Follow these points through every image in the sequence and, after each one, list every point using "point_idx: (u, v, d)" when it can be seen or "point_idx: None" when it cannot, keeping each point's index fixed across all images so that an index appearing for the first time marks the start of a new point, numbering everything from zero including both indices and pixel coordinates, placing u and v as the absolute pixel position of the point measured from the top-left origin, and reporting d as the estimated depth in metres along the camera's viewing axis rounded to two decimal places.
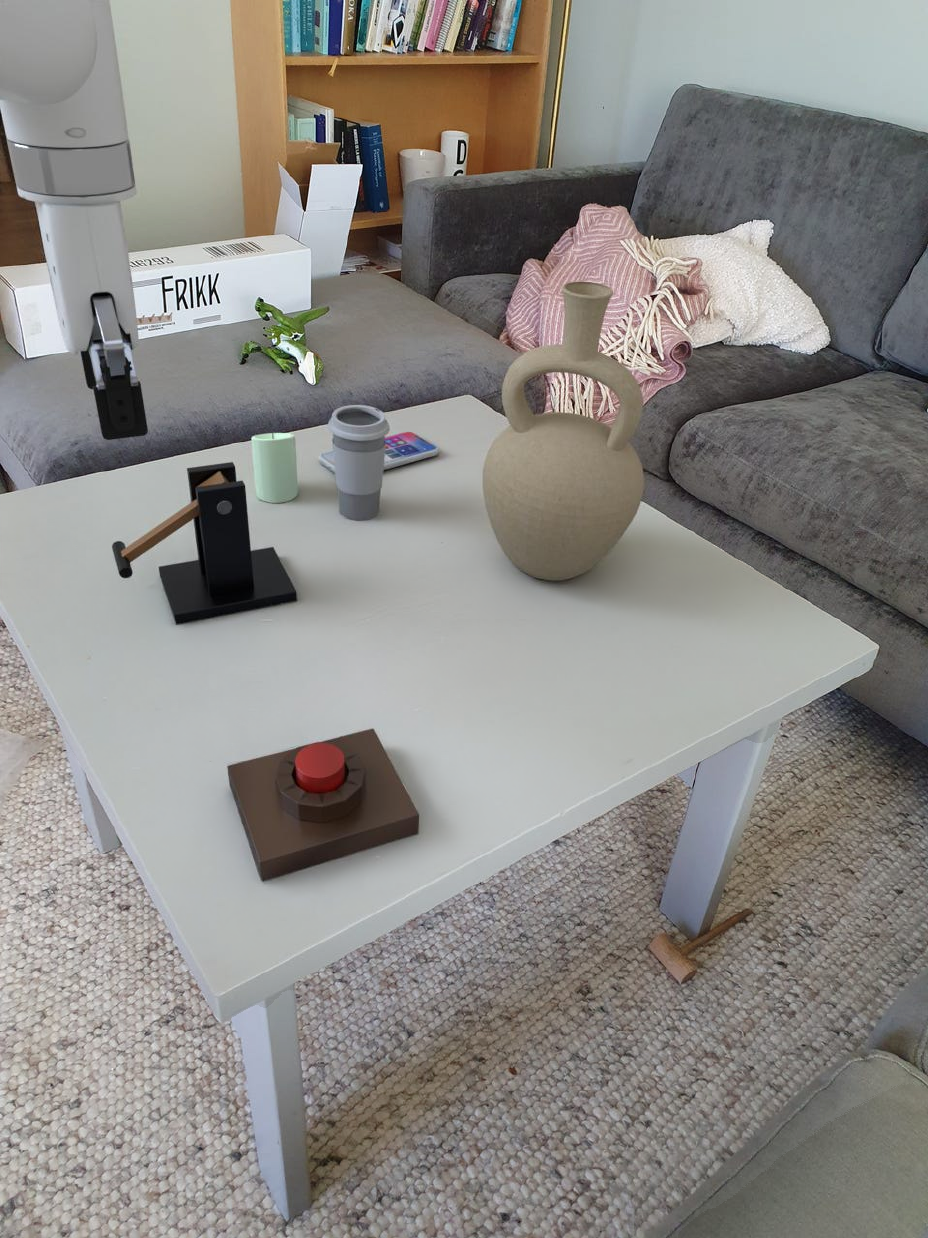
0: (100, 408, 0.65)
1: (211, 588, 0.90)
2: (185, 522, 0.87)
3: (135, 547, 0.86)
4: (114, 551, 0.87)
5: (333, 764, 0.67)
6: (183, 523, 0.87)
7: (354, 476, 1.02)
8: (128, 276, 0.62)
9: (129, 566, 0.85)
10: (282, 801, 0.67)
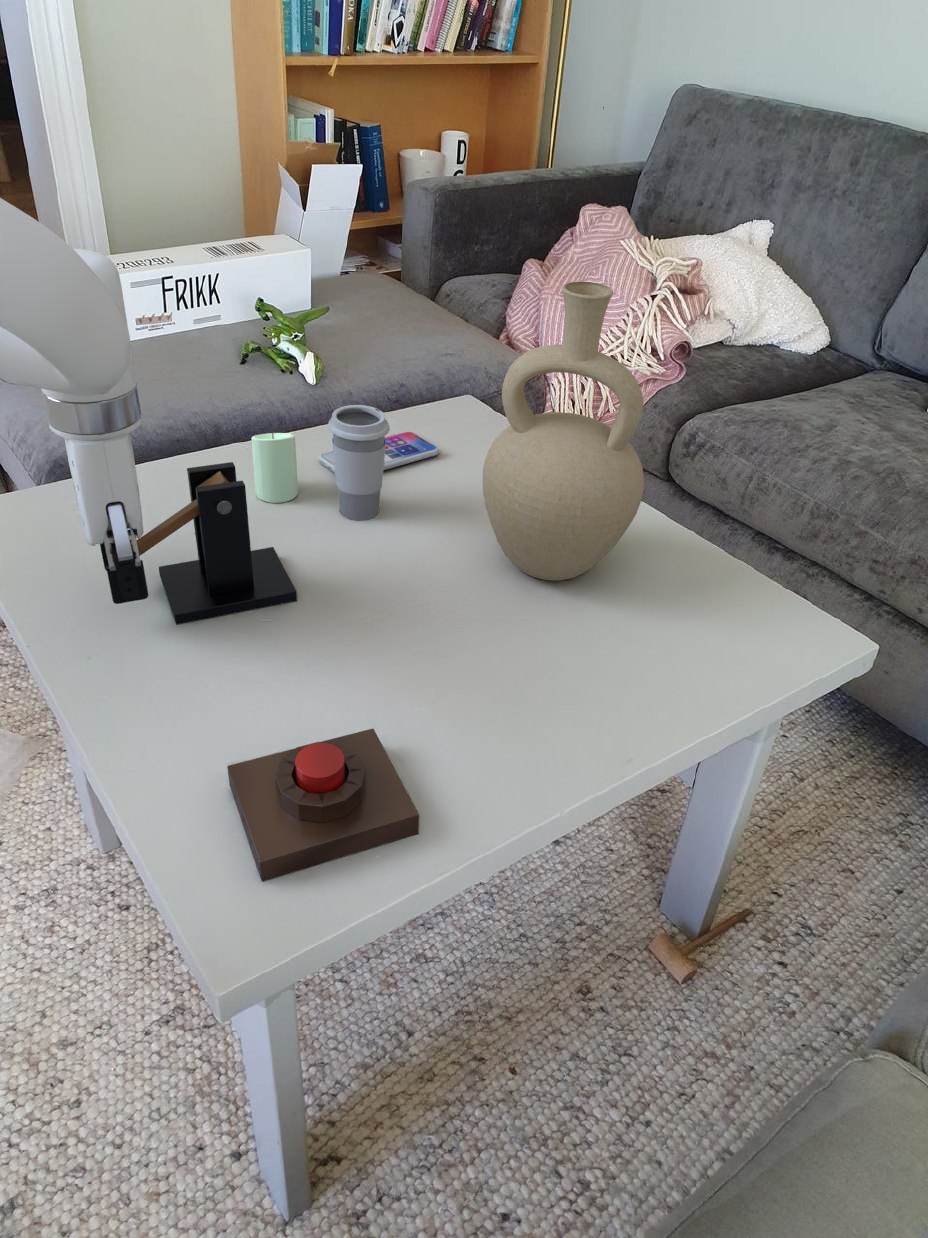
0: (111, 582, 0.84)
1: (211, 588, 0.90)
2: (185, 522, 0.87)
3: None
4: (114, 551, 0.87)
5: (333, 764, 0.67)
6: (183, 523, 0.87)
7: (354, 476, 1.02)
8: (135, 488, 0.79)
9: None
10: (282, 801, 0.67)
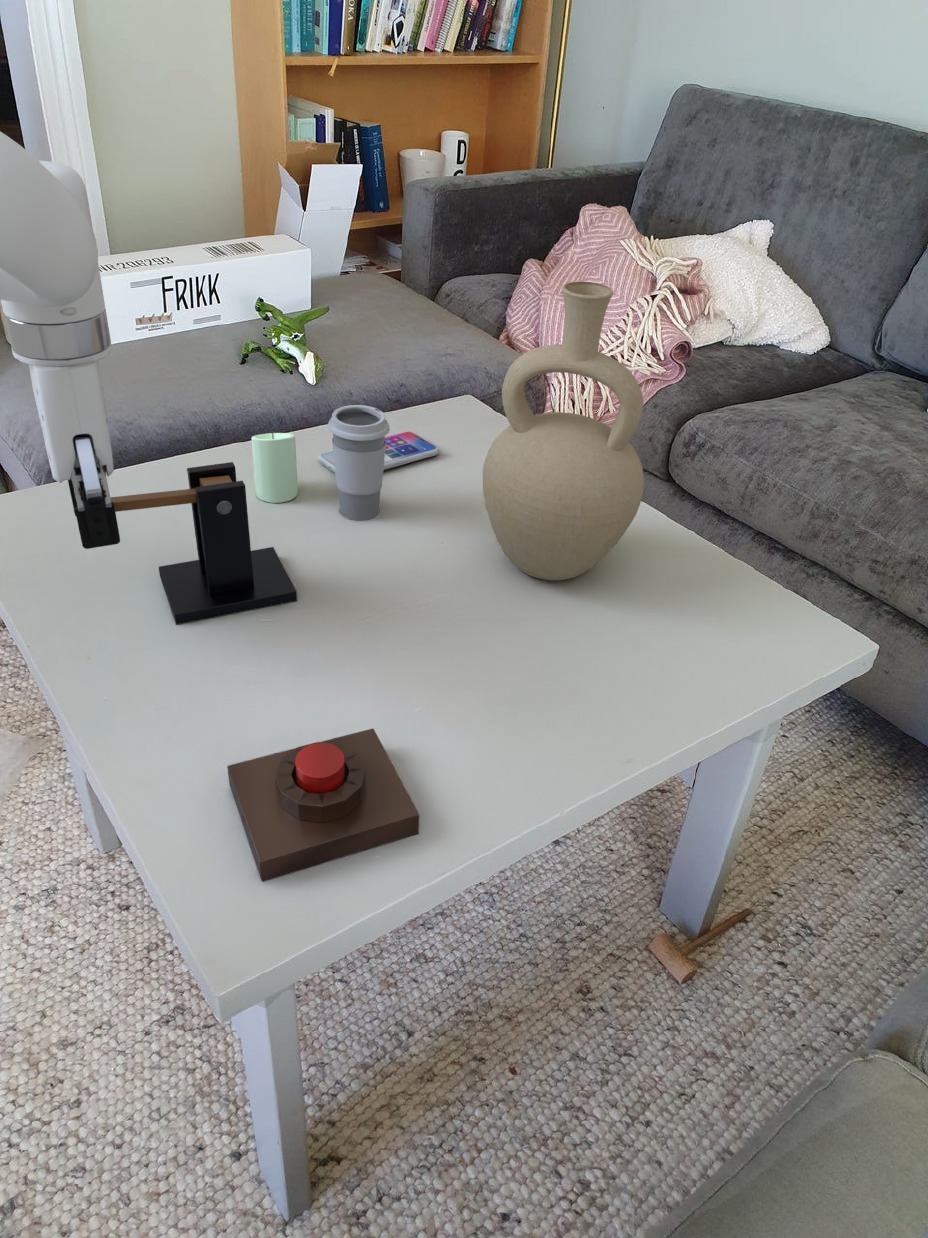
0: (80, 524, 0.80)
1: (211, 588, 0.90)
2: (175, 503, 0.85)
3: (116, 501, 0.83)
4: None
5: (333, 764, 0.67)
6: (172, 503, 0.85)
7: (354, 476, 1.02)
8: (104, 420, 0.74)
9: None
10: (282, 801, 0.67)
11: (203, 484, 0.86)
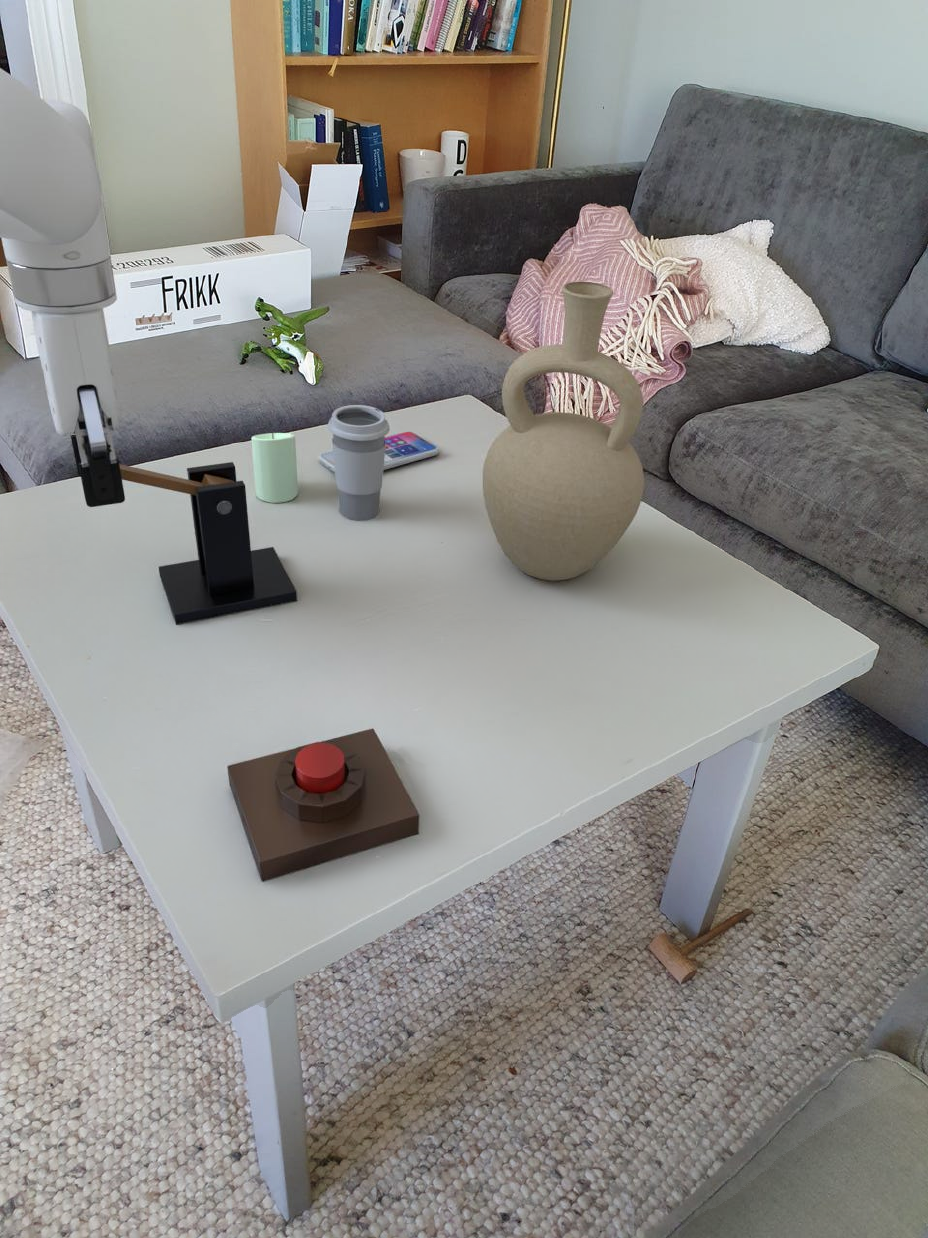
0: (84, 481, 0.78)
1: (211, 588, 0.90)
2: (175, 489, 0.85)
3: (121, 469, 0.81)
4: None
5: (333, 764, 0.67)
6: (173, 488, 0.84)
7: (354, 476, 1.02)
8: (109, 370, 0.72)
9: None
10: (282, 801, 0.67)
11: (208, 480, 0.86)
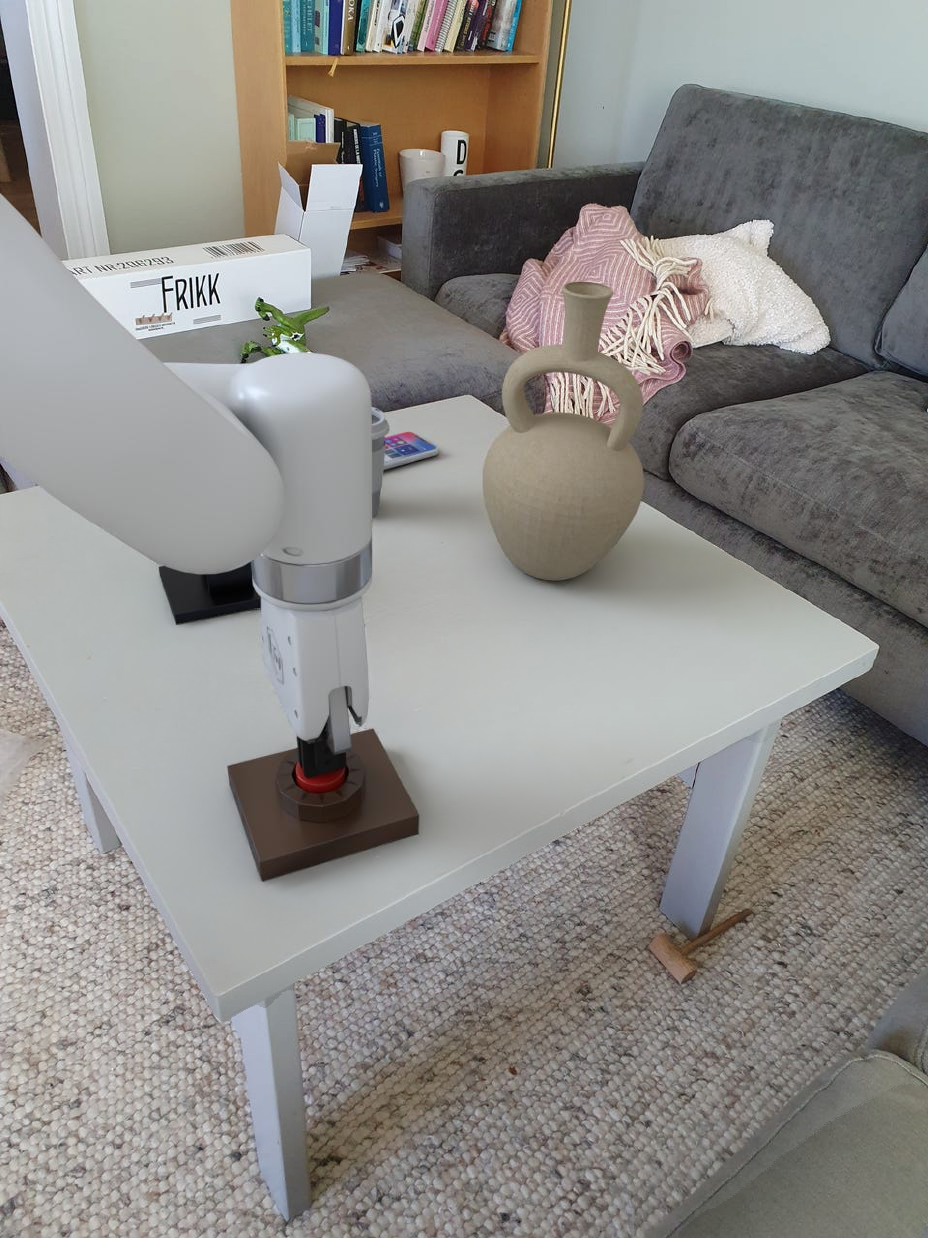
0: (305, 754, 0.65)
1: (211, 588, 0.90)
2: None
3: None
4: None
5: (333, 771, 0.68)
6: None
7: None
8: (366, 666, 0.58)
9: None
10: (282, 801, 0.67)
11: None
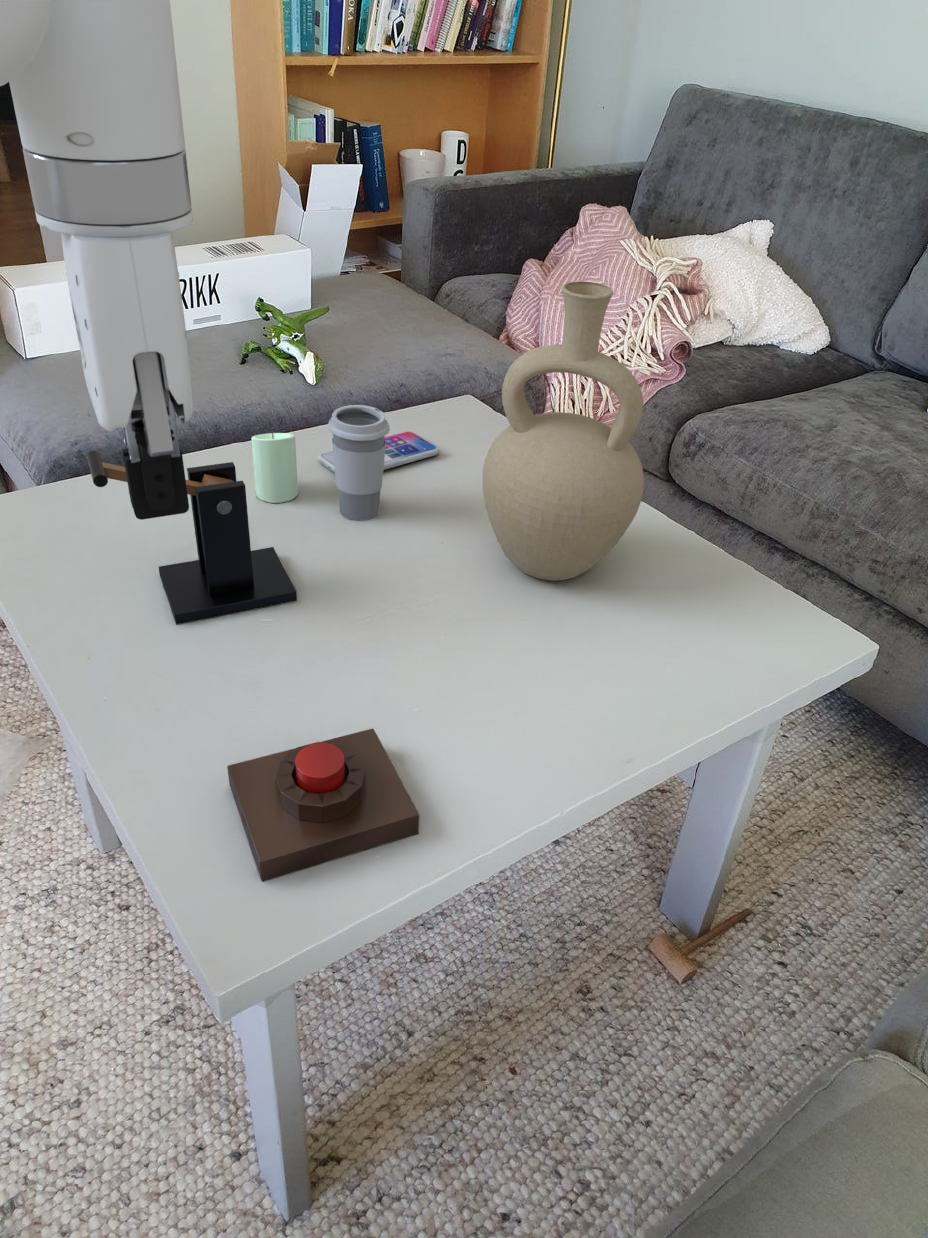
0: (133, 483, 0.54)
1: (211, 588, 0.90)
2: None
3: (120, 470, 0.81)
4: (93, 457, 0.81)
5: (333, 764, 0.67)
6: None
7: (354, 476, 1.02)
8: (183, 330, 0.47)
9: (107, 479, 0.80)
10: (282, 801, 0.67)
11: (208, 480, 0.86)
